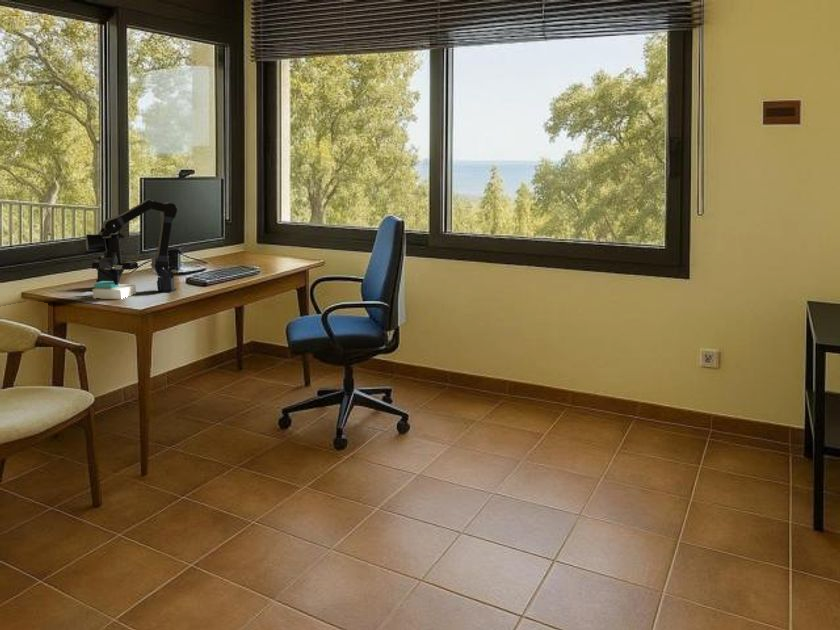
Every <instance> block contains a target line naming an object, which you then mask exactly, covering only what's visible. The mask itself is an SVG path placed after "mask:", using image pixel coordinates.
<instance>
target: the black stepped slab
mask: <svg viewBox="0 0 840 630" xmlns="http://www.w3.org/2000/svg"><path fill="white" fill-rule="evenodd" d="M103 257H104V254H103V255H99V257H97V261H98V260H100V259H101V258H103ZM114 268H116V267H114ZM95 270H97V277H96V278H97V279H96V282H95V283H97V282H100V281H113V279H112V277H111V275H110V274H109V273H108V272H107V271H104V270H105V268H103V269H101V268H100V267H99V268H98V269H95Z"/></svg>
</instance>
